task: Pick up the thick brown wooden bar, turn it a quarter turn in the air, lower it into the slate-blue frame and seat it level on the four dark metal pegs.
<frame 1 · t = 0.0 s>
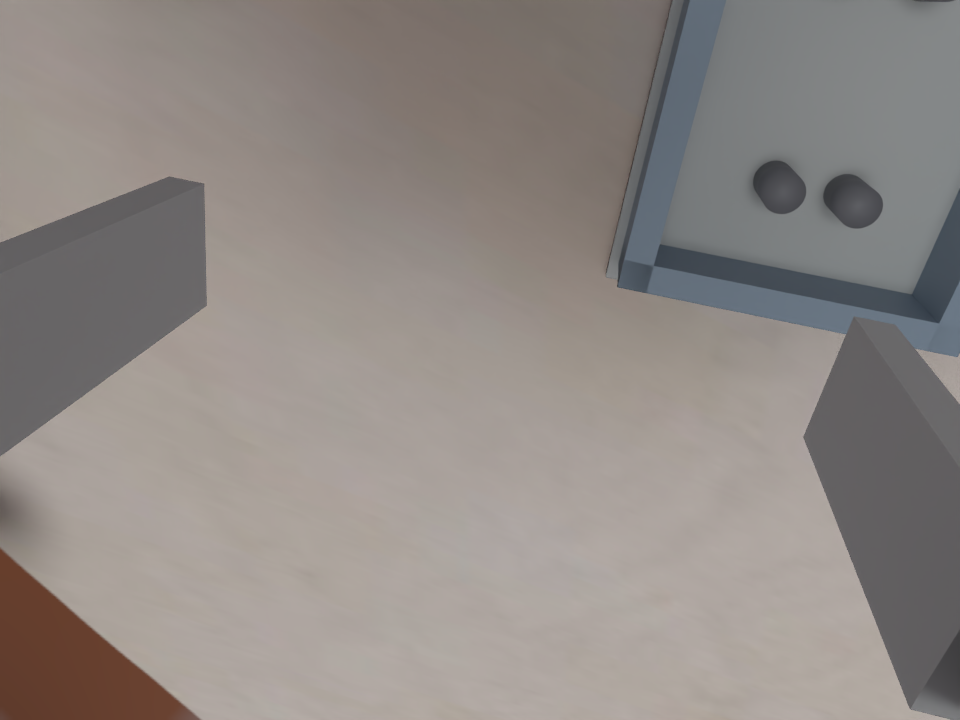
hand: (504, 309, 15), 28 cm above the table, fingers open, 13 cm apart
peg frame: (839, 83, 37), on the table
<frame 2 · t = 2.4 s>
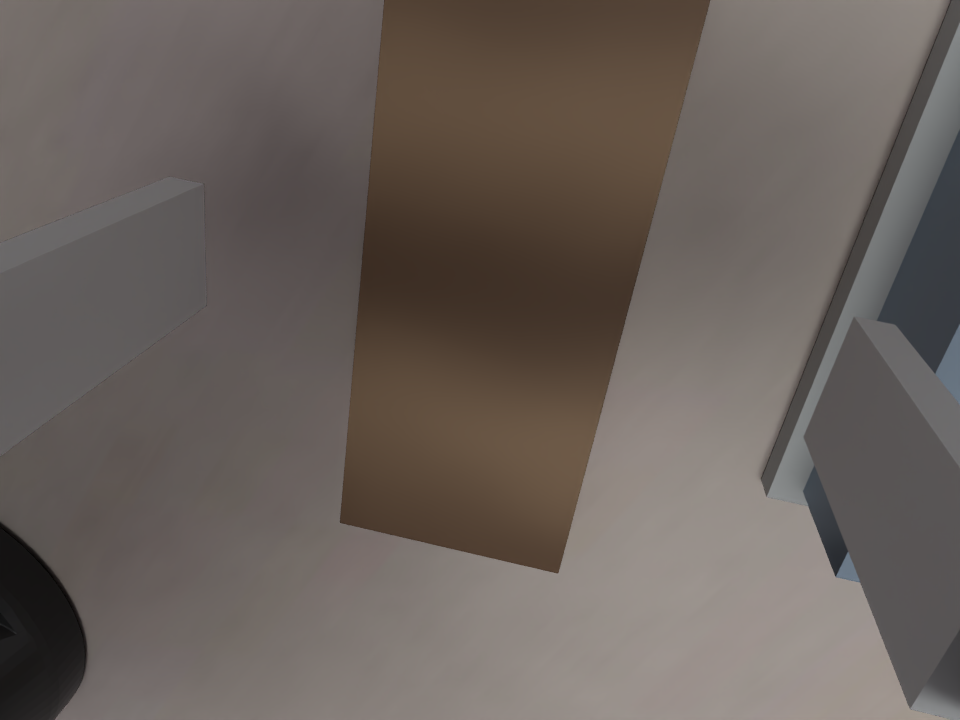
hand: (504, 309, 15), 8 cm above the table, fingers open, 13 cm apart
brown wooden bar: (525, 210, 23), on the table
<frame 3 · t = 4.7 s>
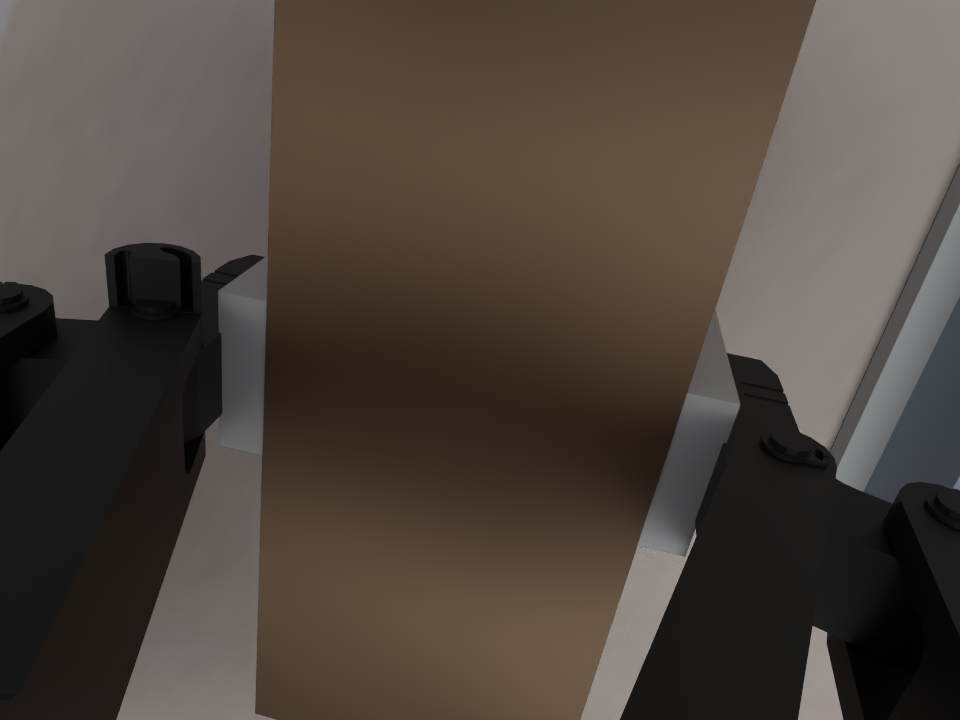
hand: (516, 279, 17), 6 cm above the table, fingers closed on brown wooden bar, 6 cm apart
brown wooden bar: (519, 274, 17), point 6 cm above the table, touching gripper
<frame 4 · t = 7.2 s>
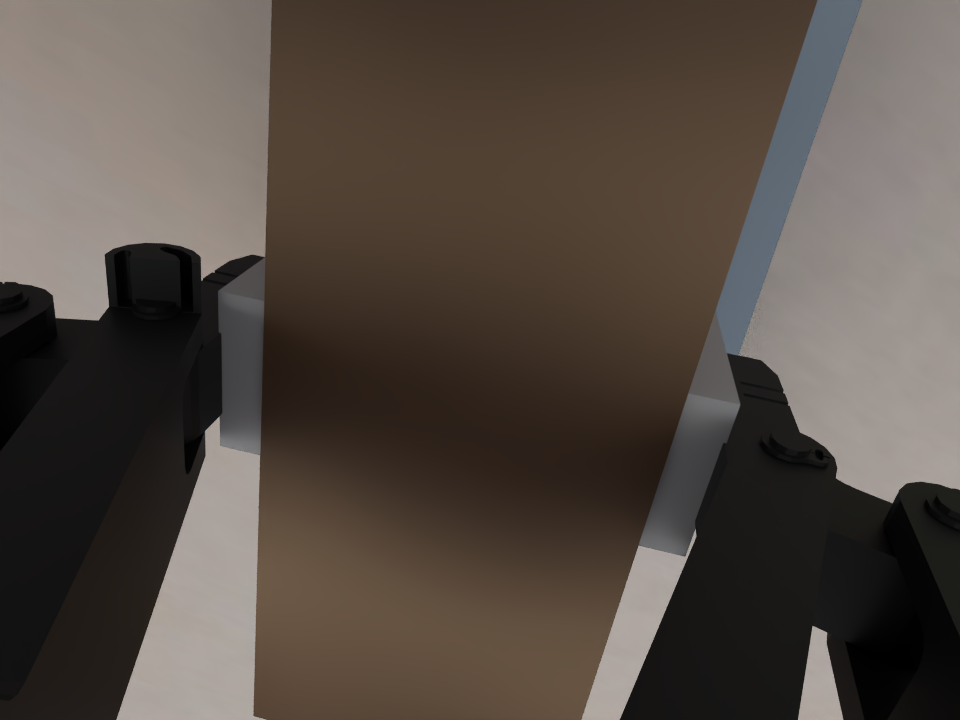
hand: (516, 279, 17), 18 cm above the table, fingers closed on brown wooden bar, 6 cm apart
peg frame: (572, 139, 33), on the table
brown wooden bar: (519, 274, 17), point 18 cm above the table, touching gripper
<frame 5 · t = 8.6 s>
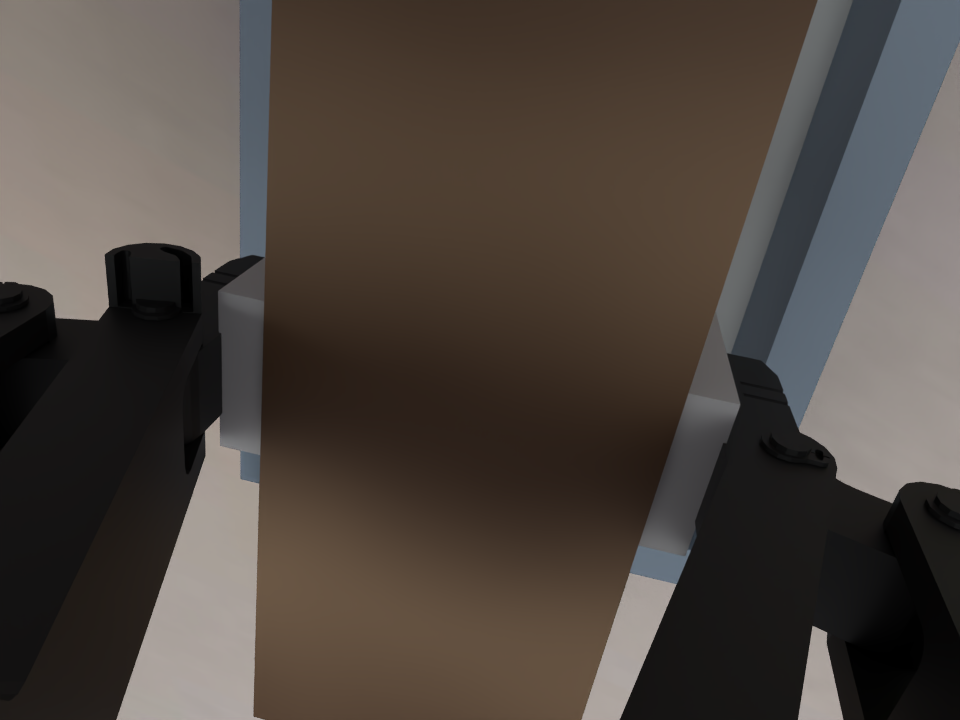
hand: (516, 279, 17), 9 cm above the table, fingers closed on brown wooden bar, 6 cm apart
peg frame: (553, 183, 25), on the table
brown wooden bar: (519, 274, 17), point 9 cm above the table, touching gripper
when the fingers open (5 cm above the table, at t = 9.8 s): brown wooden bar stays where it is, resting on peg frame.
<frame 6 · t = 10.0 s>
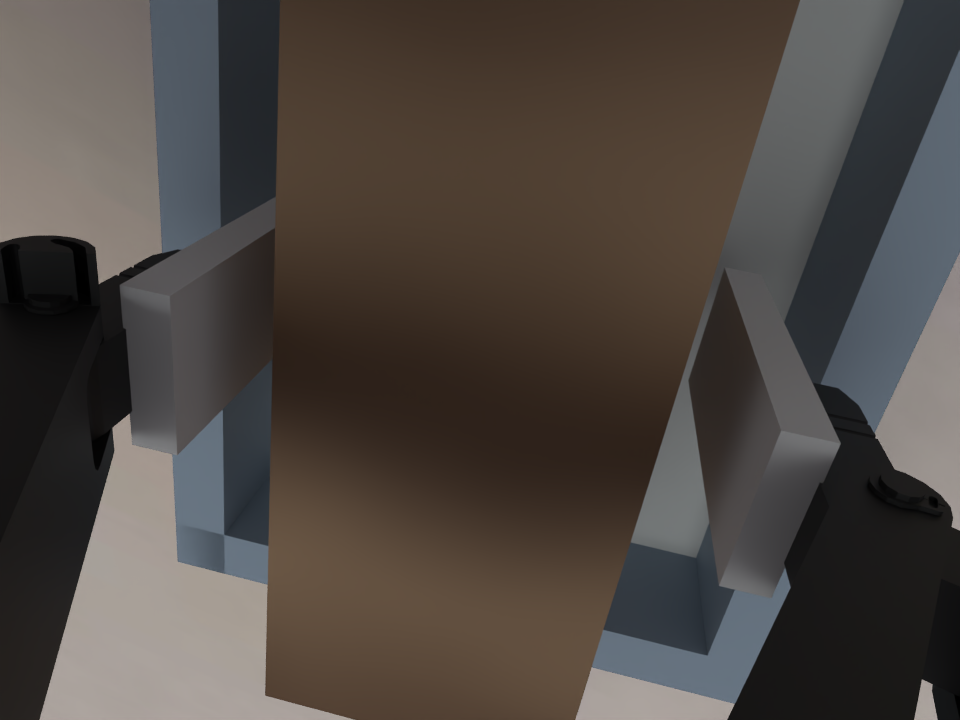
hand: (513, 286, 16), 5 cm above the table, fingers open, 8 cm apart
peg frame: (540, 221, 21), on the table
brown wooden bar: (520, 265, 17), point 4 cm above the table, touching peg frame
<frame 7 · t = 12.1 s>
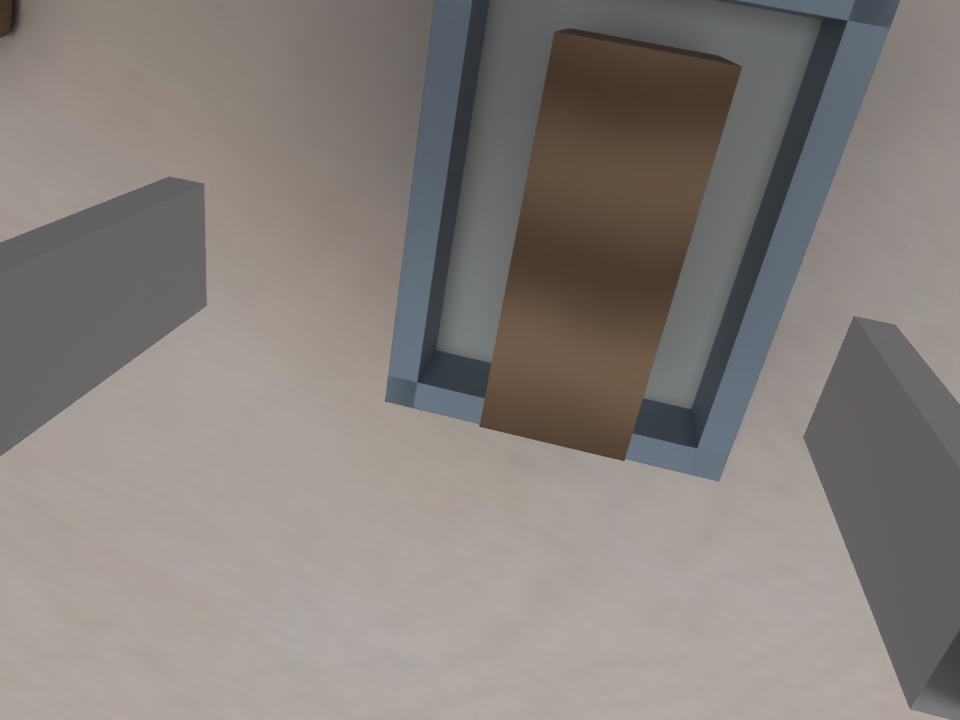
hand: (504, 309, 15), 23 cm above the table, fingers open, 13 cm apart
peg frame: (603, 202, 37), on the table
brown wooden bar: (600, 222, 33), point 4 cm above the table, touching peg frame
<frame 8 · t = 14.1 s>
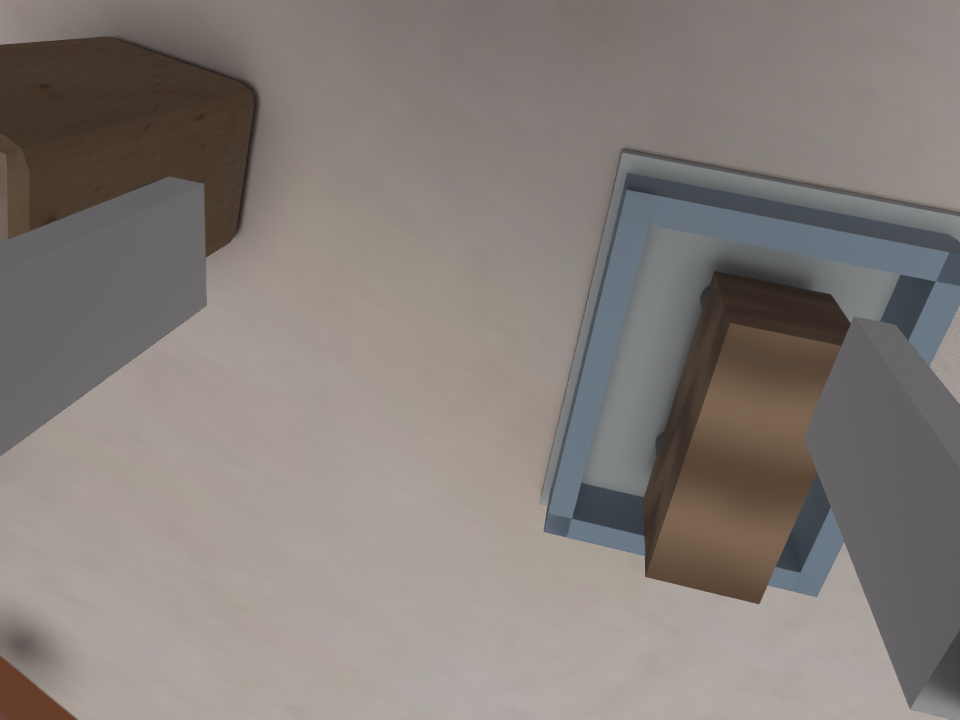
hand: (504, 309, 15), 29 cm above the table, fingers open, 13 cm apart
wooden block: (177, 141, 46), on the table
peg frame: (721, 373, 46), on the table
brown wooden bar: (729, 405, 42), point 4 cm above the table, touching peg frame
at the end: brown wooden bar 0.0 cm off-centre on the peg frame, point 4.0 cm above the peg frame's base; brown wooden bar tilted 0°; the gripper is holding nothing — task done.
